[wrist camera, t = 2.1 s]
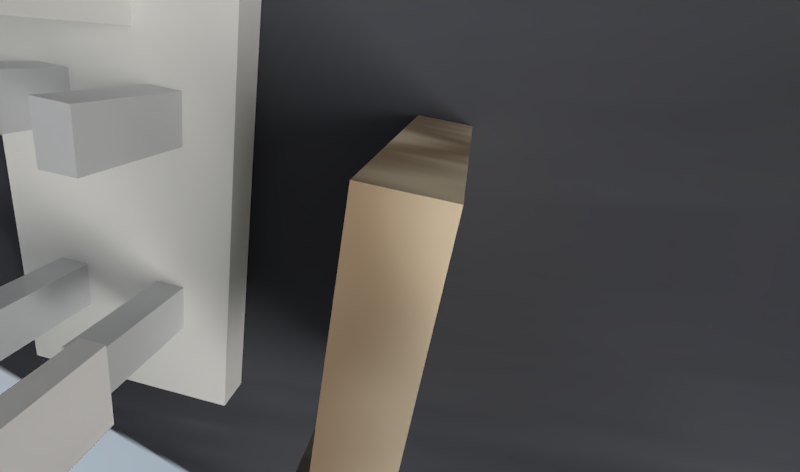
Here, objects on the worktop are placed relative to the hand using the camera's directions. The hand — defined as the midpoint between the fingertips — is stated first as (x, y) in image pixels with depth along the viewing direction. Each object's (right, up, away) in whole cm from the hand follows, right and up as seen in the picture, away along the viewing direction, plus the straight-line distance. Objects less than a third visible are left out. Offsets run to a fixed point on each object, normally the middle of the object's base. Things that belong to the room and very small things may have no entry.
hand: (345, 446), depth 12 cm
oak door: (+2, +4, +12) cm, 13 cm away
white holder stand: (-12, +8, +13) cm, 19 cm away
